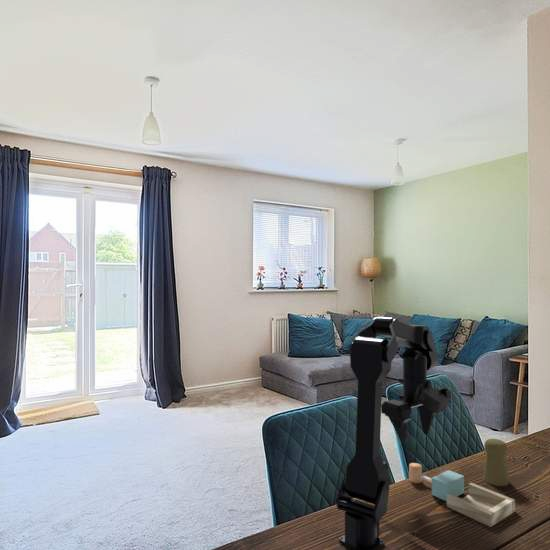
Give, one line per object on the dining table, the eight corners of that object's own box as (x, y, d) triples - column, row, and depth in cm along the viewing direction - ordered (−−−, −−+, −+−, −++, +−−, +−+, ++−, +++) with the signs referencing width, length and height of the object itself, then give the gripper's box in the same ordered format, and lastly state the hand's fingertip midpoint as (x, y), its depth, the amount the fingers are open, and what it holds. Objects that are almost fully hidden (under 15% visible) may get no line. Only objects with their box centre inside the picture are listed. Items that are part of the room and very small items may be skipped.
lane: (490, 531, 92) (490, 514, 92) (446, 510, 100) (446, 495, 100) (514, 515, 98) (514, 499, 98) (471, 497, 106) (471, 482, 106)
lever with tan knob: (447, 505, 102) (447, 484, 102) (401, 484, 112) (401, 465, 112) (463, 496, 106) (463, 475, 106) (418, 477, 116) (418, 458, 116)
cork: (483, 476, 117) (483, 434, 117) (510, 482, 114) (510, 438, 114) (481, 486, 112) (480, 442, 112) (508, 492, 108) (508, 446, 108)
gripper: (418, 387, 100) (419, 457, 100) (465, 376, 111) (465, 439, 111) (379, 378, 109) (379, 442, 109) (426, 368, 120) (426, 427, 120)
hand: (414, 438), depth 112 cm, fingers open, 9 cm apart
